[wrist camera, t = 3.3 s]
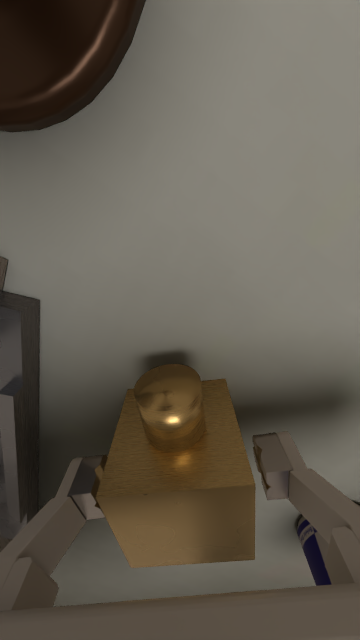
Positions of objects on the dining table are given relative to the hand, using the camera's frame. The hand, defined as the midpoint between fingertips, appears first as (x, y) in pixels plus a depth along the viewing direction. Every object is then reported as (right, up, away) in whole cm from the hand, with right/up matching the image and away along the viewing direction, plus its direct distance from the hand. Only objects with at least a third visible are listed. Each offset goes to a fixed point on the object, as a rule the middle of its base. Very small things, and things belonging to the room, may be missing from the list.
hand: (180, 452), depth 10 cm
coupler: (0, +1, +2) cm, 2 cm away
